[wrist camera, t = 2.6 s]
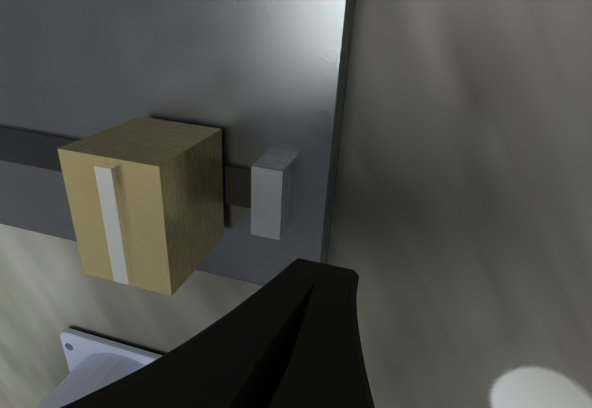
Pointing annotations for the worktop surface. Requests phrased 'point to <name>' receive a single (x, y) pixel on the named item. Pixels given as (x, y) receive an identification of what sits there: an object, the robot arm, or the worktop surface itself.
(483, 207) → the worktop surface
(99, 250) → the tan striped block
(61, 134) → the mixer panel
